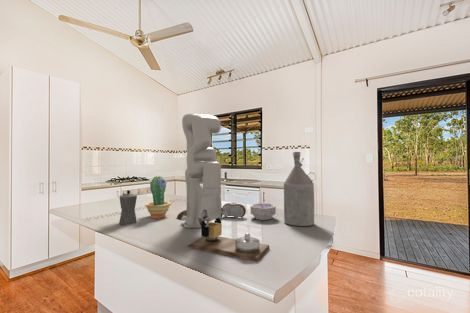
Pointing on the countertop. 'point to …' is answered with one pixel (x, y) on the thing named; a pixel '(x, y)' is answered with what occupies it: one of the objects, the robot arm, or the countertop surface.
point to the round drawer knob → (211, 239)
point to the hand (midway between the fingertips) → (211, 233)
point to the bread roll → (182, 214)
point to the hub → (247, 244)
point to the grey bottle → (298, 196)
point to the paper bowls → (263, 211)
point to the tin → (234, 210)
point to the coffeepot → (128, 209)
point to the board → (227, 248)
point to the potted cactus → (158, 198)
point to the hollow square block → (214, 229)
